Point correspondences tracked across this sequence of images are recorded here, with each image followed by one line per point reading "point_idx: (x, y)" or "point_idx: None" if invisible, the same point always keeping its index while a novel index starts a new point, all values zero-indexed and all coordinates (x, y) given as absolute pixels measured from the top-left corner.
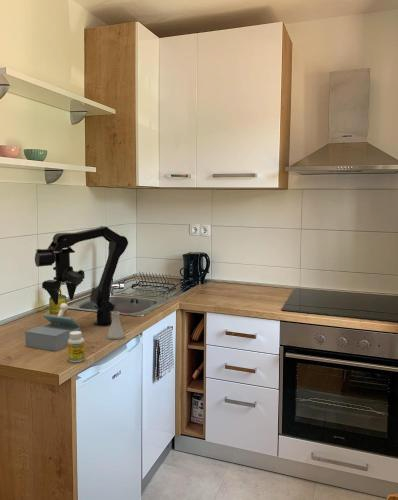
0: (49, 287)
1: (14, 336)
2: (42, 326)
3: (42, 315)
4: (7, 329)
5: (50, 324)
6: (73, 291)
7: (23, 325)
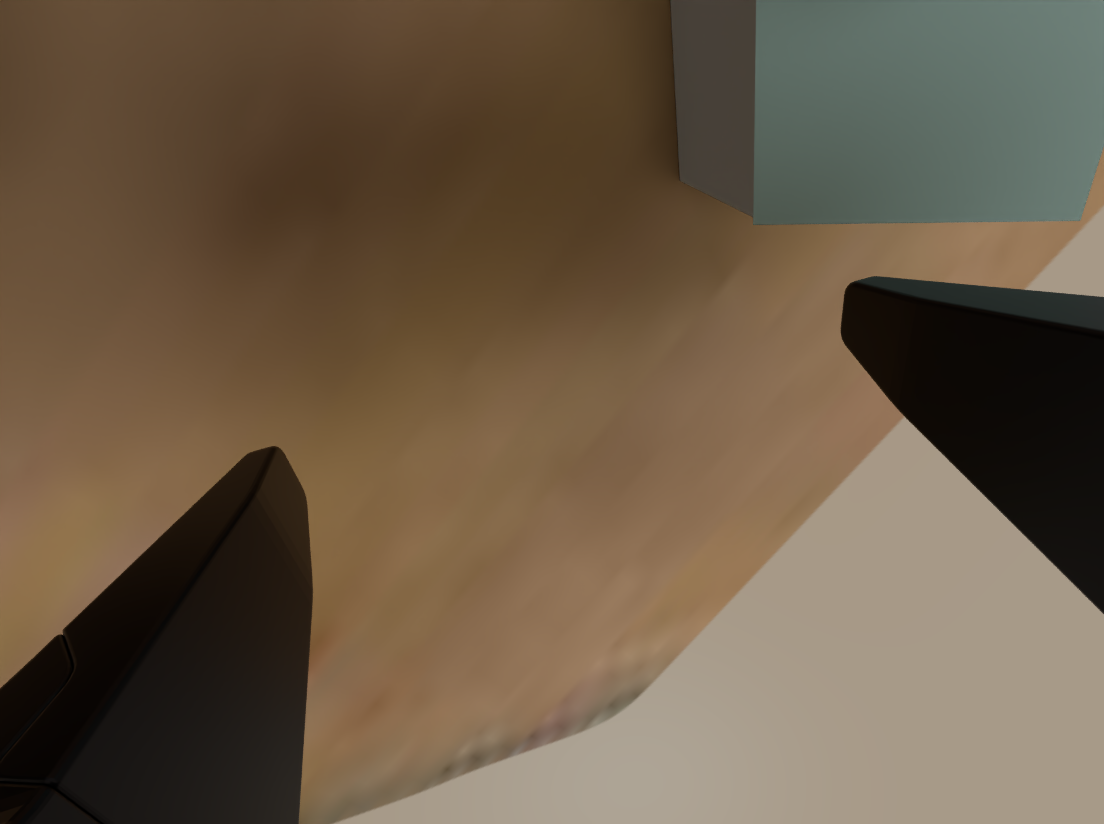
0: None
1: (830, 422)
2: None
3: (1077, 200)
4: (716, 595)
5: None
6: (161, 621)
7: (588, 614)
